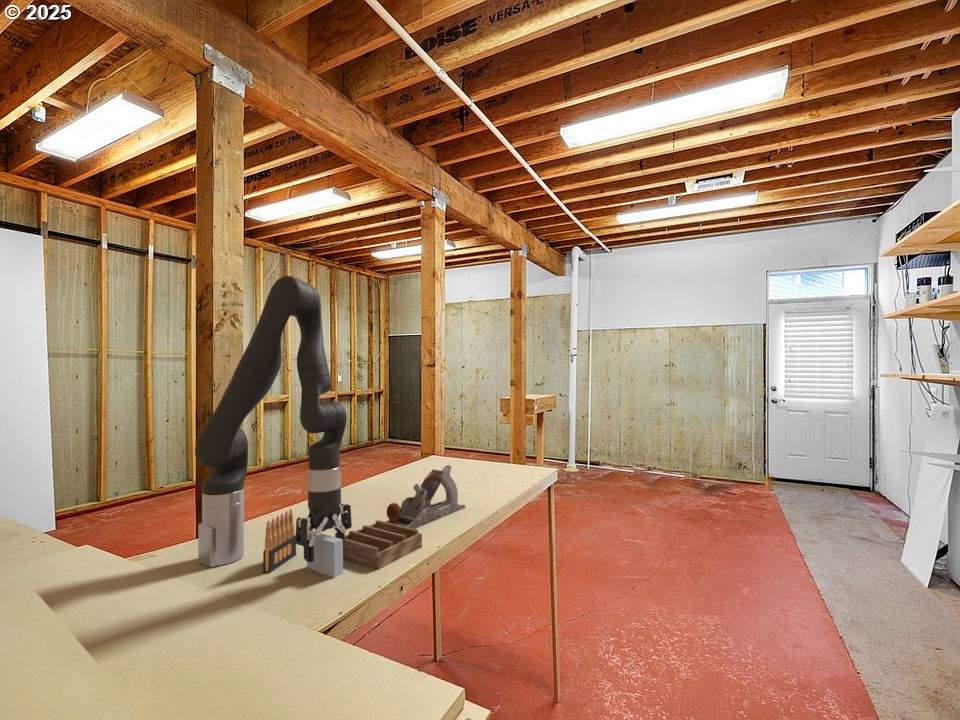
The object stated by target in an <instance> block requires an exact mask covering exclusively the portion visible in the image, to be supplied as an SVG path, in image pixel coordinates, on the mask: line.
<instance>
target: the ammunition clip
mask: <svg viewBox="0 0 960 720" xmlns="http://www.w3.org/2000/svg"><path fill="white" fill-rule="evenodd" d="M283 513H284V512H283ZM283 513H281V514H280V516H279V515H277V516H276V519H275V518H274V517H272V519H271V521H270V520H267V522H266V526H265V537H264V550H263V555H262V556H263V557H262V558H263V561H262V563H263V566H262V573H267V574H271V573H272V572H274V571H275V570H276V569H278V568H280V567H281V566H283V565H285V564H286V563H287V562H288V561H289V560H291V559H292V558H294V557H296V556H297V544H296V543H295V538H296V534H295V523H294V514H293V513H294V512H293V509H292V508H290V510H289V512H288V511H285V514H283Z"/></svg>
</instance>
